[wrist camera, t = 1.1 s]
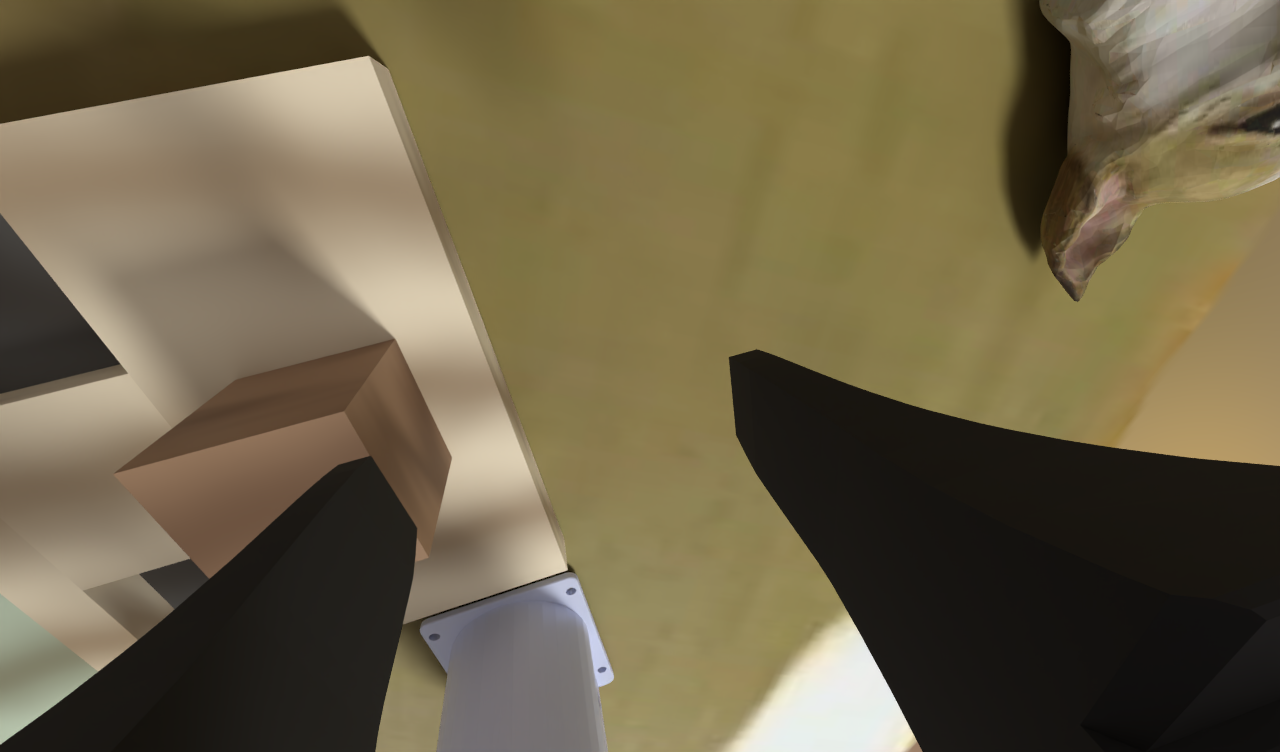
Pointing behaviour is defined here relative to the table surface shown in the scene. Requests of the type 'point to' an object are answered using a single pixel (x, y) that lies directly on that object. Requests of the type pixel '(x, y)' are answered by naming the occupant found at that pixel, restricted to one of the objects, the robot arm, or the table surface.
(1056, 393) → the table surface
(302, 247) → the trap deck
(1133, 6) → the ceramic sculpture
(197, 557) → the walnut block
